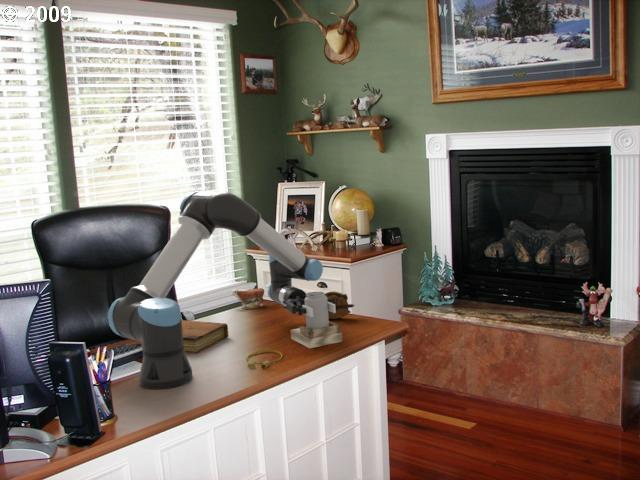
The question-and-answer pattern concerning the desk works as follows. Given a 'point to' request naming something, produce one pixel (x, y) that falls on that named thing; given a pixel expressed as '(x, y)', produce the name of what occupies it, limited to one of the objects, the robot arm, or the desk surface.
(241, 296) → the bull figurine
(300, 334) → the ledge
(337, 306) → the wooden carving
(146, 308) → the robot arm
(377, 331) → the desk surface
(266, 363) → the torc
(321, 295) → the can
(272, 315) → the desk surface
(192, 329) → the diary
